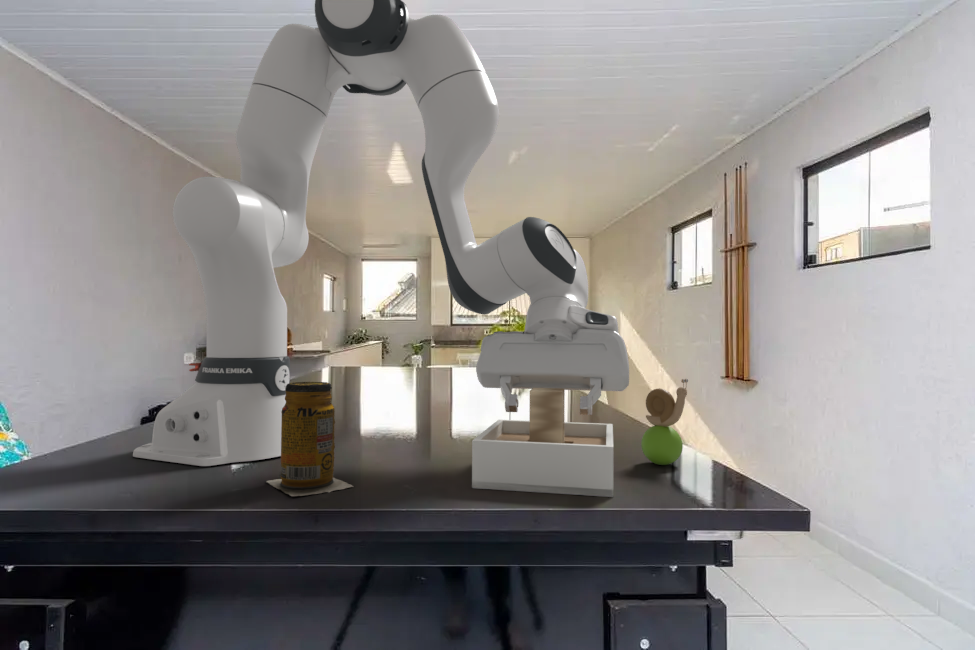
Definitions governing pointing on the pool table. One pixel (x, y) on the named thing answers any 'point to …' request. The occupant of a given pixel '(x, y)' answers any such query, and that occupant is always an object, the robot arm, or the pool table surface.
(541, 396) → the beech peg
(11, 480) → the pool table surface
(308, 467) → the condiment
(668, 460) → the snail figurine
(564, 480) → the open box
